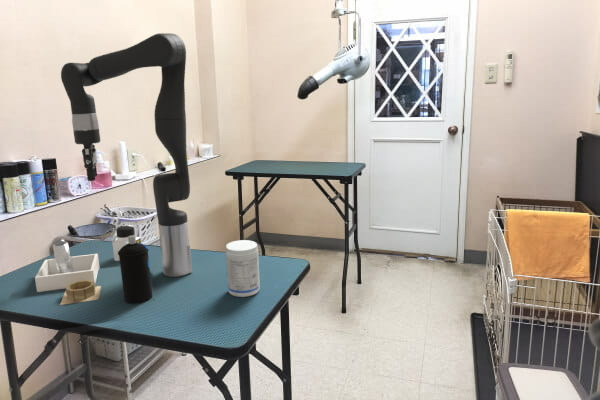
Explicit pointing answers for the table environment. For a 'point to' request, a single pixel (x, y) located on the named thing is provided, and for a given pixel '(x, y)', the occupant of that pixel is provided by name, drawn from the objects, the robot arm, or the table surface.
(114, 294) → the table surface
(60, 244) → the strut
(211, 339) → the table surface
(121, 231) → the medicine bottle
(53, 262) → the bin
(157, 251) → the table surface
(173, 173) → the robot arm
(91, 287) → the socket base
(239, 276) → the supplement tub
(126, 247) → the aerosol can
